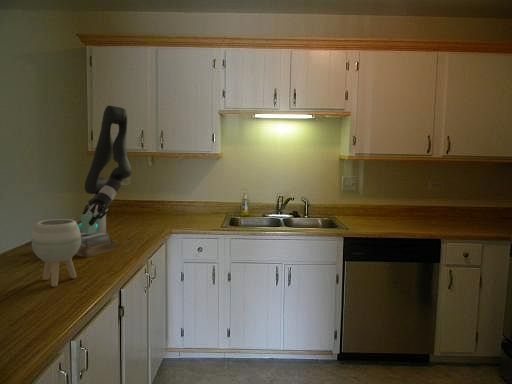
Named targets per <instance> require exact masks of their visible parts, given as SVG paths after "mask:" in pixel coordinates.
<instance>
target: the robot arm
mask: <svg viewBox="0 0 512 384" xmlns="http://www.w3.org/2000/svg"><path fill="white" fill-rule="evenodd" d="M113 124H114V125H117V126H118V133H117V136H116V137H115V139H114V140H113V138H112V135H111V130H112V129H111V128H112V125H113ZM100 127H101V128H100V133H99V136H98V140H97V144H96V146H95V151H94V154H93V159H92V161H91V164H90V168H89V170H88V173H87V175H86V179H85V181H84V190H85V193H86V194H89V195H94V197H92V198H91V199H89V200H88V203H87V205H85V207H84V209H83V212H82V215H83V214H94V216H93V217H92V219H91V220H90V222H89V224H90V225H91V226H92V225H93V224H94V223H95V222H96V224H97V225H98V227H97V229H96V232H99V233H106V234H107V214H108V213H109V212H110V210H109V208H108V207H109V206H110V204H111V203H112V201H113V200H114V199H115V197H116V196H117V195H116V194H117V193H118V192H119V190H120V189H121V186H122V181H124V180H126V179H127V178H128V179H129V177H130V176H131V175H132V166H131V164H130V160H129V159H128V152H127V151H128V148H127V134H128V112H127V110H126V109H125V108H123V107H119V106H116V105H107V106H105V108H104V112H103V115H102V121H101V125H100ZM112 159H113V161H114V162H115V163H117V165H118V167H115V168H114V169H113V170H112V171H111V173H110V176H109V178H108V180H106V179H105V177H102V176H100V174H101V173H102V171H103V170H104V169H105V168H106V166H107V165H108V164H109V163H110V162H111V160H112Z"/></svg>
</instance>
